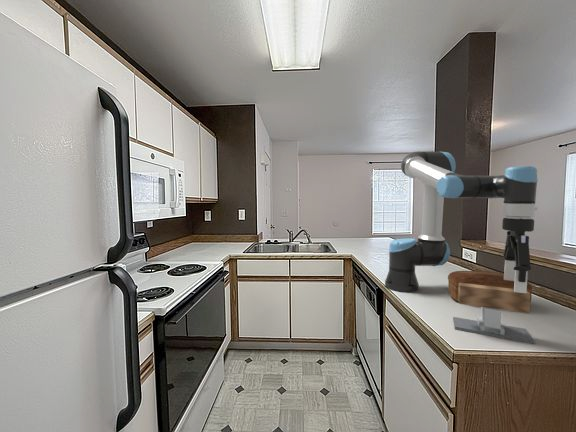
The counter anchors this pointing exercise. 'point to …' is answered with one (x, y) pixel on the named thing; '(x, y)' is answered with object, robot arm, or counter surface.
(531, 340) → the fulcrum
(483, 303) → the walnut beam
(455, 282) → the bread
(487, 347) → the counter surface
